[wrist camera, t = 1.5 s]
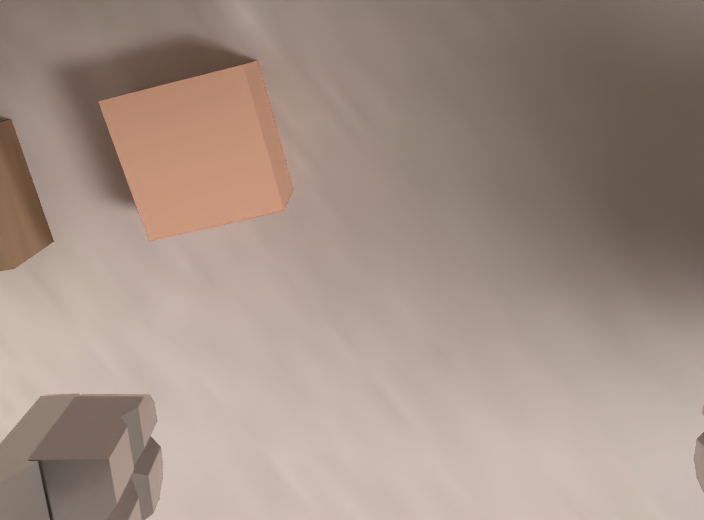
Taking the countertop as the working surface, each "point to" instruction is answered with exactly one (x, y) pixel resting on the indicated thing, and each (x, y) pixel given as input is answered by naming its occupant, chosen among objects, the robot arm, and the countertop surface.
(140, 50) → the countertop surface
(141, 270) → the countertop surface
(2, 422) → the countertop surface
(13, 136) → the base block
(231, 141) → the terracotta block
